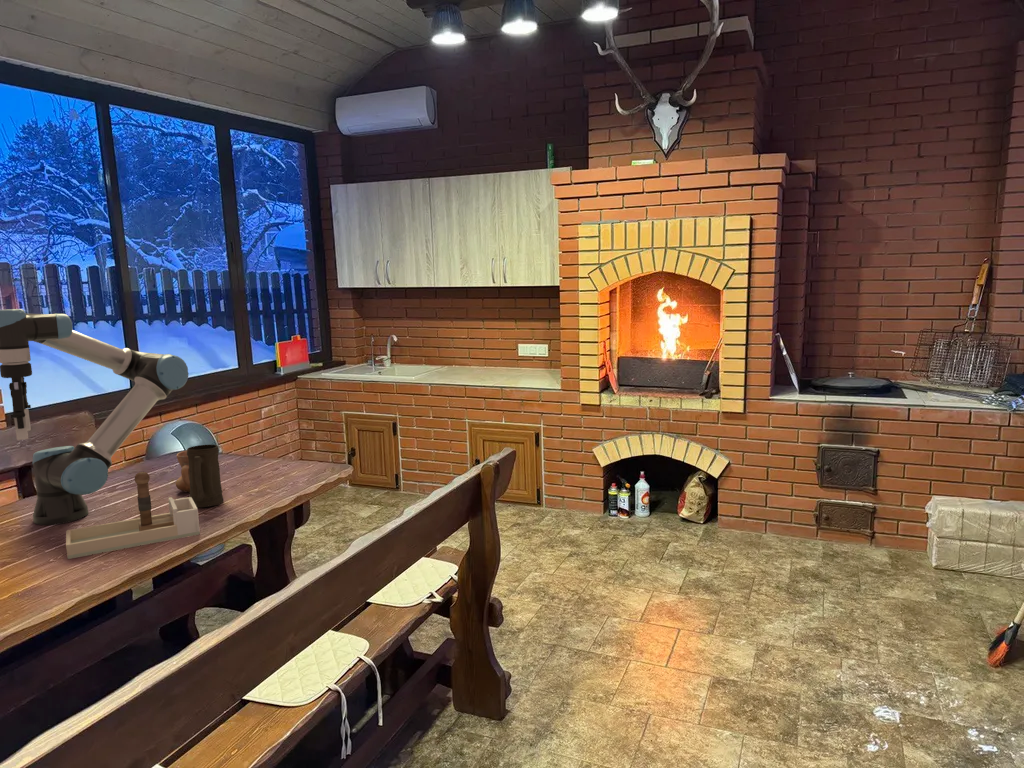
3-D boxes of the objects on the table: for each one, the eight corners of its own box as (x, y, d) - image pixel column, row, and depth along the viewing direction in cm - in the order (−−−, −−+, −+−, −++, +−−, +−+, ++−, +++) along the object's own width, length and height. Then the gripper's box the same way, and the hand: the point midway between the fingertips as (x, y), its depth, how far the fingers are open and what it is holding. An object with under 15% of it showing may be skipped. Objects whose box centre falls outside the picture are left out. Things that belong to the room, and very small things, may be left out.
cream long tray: (68, 543, 209) (64, 513, 207) (193, 521, 226) (190, 493, 225) (67, 559, 197) (64, 528, 195) (199, 534, 214) (197, 505, 213)
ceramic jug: (191, 482, 268) (188, 446, 266) (228, 483, 267) (225, 446, 265) (164, 497, 251) (160, 458, 248) (203, 498, 249) (200, 459, 247)
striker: (139, 531, 214) (133, 471, 211) (175, 524, 219) (170, 465, 216) (140, 536, 210) (134, 475, 207) (177, 529, 215) (172, 469, 212)
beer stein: (190, 501, 246) (185, 444, 243) (224, 497, 250) (219, 441, 247) (187, 514, 232) (182, 455, 229) (223, 510, 236) (218, 452, 233)
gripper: (2, 359, 213) (11, 428, 217) (-5, 368, 192) (5, 445, 196) (32, 358, 217) (41, 425, 221) (28, 366, 196) (37, 441, 199)
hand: (24, 435), depth 208 cm, fingers open, 13 cm apart
